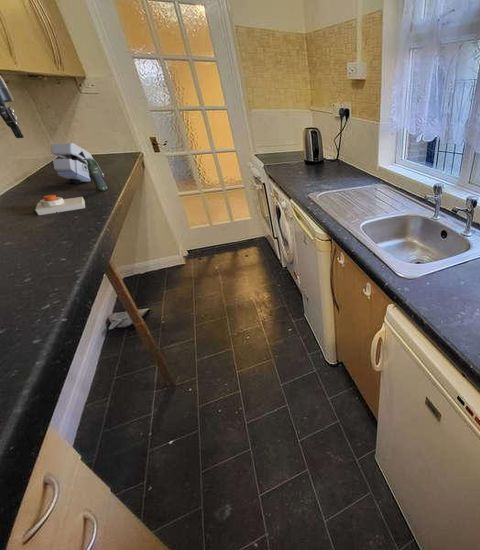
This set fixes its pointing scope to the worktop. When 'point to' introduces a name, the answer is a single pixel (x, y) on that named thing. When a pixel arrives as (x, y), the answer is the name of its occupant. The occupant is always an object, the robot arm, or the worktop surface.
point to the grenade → (96, 174)
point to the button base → (59, 205)
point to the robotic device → (71, 162)
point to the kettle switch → (50, 197)
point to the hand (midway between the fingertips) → (20, 137)
